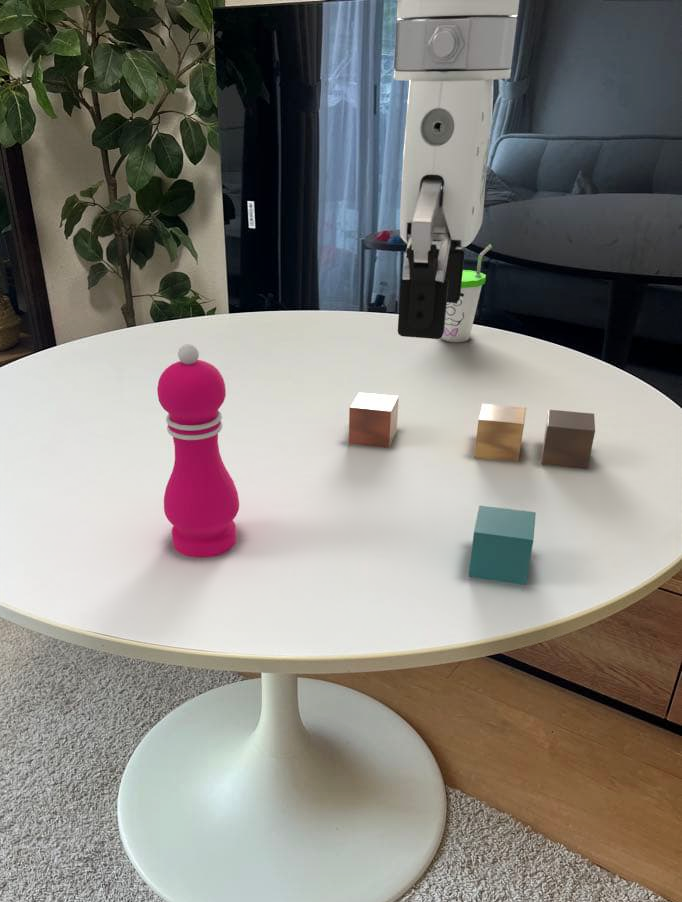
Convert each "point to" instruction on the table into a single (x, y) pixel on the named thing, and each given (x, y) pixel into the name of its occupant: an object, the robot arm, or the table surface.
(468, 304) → the cup
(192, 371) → the pepper mill
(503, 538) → the teal block
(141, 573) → the table surface
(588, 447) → the walnut block
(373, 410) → the cherry block
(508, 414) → the oak block
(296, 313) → the table surface
